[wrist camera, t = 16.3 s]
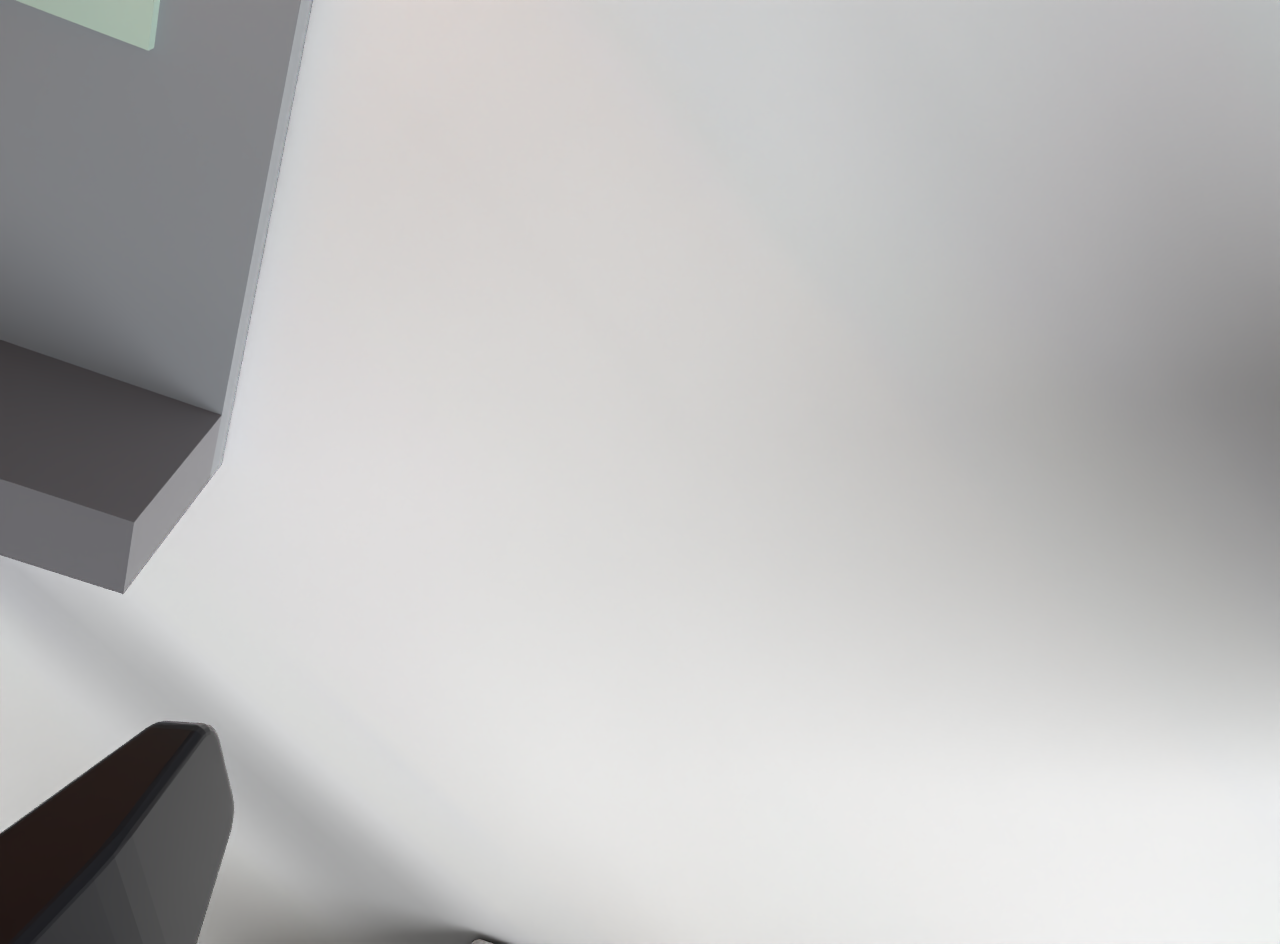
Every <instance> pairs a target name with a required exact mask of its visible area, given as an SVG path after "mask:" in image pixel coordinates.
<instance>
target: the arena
mask: <svg viewBox="0 0 1280 944" xmlns="http://www.w3.org/2000/svg"><path fill="white" fill-rule="evenodd" d="M312 2H313V0H0V555H2V556H5V557H8V558H12V559H15V560H18V561H21V562H24V563H27V564H30V565H34V566H37V567H40V568H43V569H46V570H49V571H53V572H56V573H59V574H62V575H65V576H68V577H71V578H75V579H78V580H81V581H84V582H87V583H90V584H93V585H97V586H100V587H103V588H106V589H109V590H112V591H116V592H119V593H122V594H124V592H125V591H126V590H127V588H128V587H129V586H130V584H131V583H132V582H133V580H134V579H135V578H136V577H137V575H138V574H139V573H140V571H141V570H142V569H143V567H144V566H145V565H146V563H147V562H148V561H149V559H150V558H151V557H152V555H153V554H154V553H155V551H156V550H157V549H158V548H159V546H160V545H161V544H162V542H163V541H164V540H165V538H166V537H167V536H168V534H169V533H170V532H171V530H172V529H173V528H174V526H175V525H176V524H177V522H178V521H179V520H180V519H181V517H182V516H183V515H184V513H185V512H186V511H187V509H188V508H189V507H190V505H191V504H192V503H193V501H194V500H195V499H196V497H197V496H198V495H199V493H200V492H201V491H202V489H203V488H204V487H205V486H206V484H207V483H208V482H209V480H210V479H211V478H212V476H213V475H214V474H215V472H216V471H217V470H218V468H219V467H220V466H221V464H222V460H223V455H224V450H225V445H226V440H227V435H228V430H229V425H230V420H231V414H232V409H233V404H234V399H235V394H236V389H237V384H238V379H239V374H240V369H241V363H242V358H243V353H244V348H245V343H246V338H247V333H248V328H249V323H250V318H251V313H252V307H253V302H254V297H255V292H256V287H257V282H258V277H259V272H260V267H261V262H262V257H263V251H264V246H265V241H266V236H267V231H268V226H269V221H270V216H271V211H272V206H273V200H274V195H275V190H276V185H277V180H278V175H279V170H280V165H281V160H282V155H283V150H284V144H285V139H286V134H287V129H288V124H289V119H290V114H291V109H292V104H293V99H294V94H295V88H296V83H297V78H298V73H299V68H300V63H301V58H302V53H303V48H304V43H305V38H306V32H307V27H308V22H309V17H310V12H311V7H312Z"/></svg>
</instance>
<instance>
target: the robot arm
mask: <svg viewBox="0 0 1280 944" xmlns="http://www.w3.org/2000/svg"><path fill="white" fill-rule="evenodd" d="M233 814H234V802H233V796H232V791H231V787H230V783H229V779H228V775H227V770H226V766H225V762H224V758H223V754H222V749H221V745H220V741H219V738H218V735H217V733H216V731H215V730H214V729H213V728H212V727H211V726H210V725H206V724H204V723H189V722H173V721H162V722H157V723H155V724H153V725H151V726H149V727H148V728H146V729H145V730H143V731H142V732H140V733H139V734H138V735H136V736H135V737H133V738H132V739H131V740H129V741H128V742H127V743H125V744H124V745H122V746H121V747H120V748H118V749H117V750H115V751H114V752H113V753H111V754H110V755H108V756H107V757H106V758H104V759H103V760H102V761H100V762H99V763H97V764H96V765H95V766H93V767H92V768H90V769H89V770H88V771H86V772H85V773H83V774H82V775H81V776H79V777H78V778H77V779H75V780H74V781H72V782H71V783H70V784H68V785H67V786H65V787H64V788H63V789H61V790H60V791H59V792H57V793H56V794H54V795H53V796H52V797H50V798H49V799H47V800H46V801H45V802H43V803H42V804H40V805H39V806H38V807H36V808H35V809H34V810H32V811H31V812H29V813H28V814H27V815H25V816H24V817H22V818H21V819H20V820H18V821H17V822H15V823H14V824H13V825H11V826H10V827H9V828H7V829H6V830H4V831H3V832H2V833H0V944H196V943H197V940H198V937H199V934H200V930H201V927H202V924H203V921H204V917H205V914H206V911H207V907H208V904H209V901H210V898H211V894H212V891H213V888H214V885H215V881H216V878H217V875H218V872H219V868H220V865H221V862H222V859H223V855H224V852H225V849H226V845H227V842H228V839H229V836H230V832H231V828H232V823H233Z"/></svg>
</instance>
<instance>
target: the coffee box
mask: <svg viewBox="0 0 1280 944" xmlns="http://www.w3.org/2000/svg"><path fill="white" fill-rule="evenodd" d="M472 944H493V943H490V942H487V941H484V940H481V939H477V940H474V941H473V942H472Z"/></svg>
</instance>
